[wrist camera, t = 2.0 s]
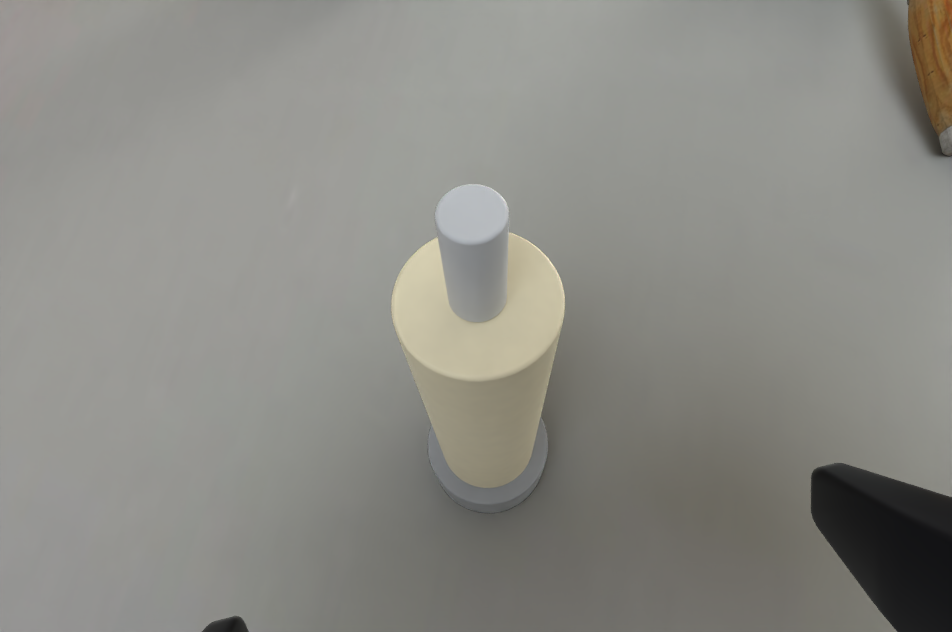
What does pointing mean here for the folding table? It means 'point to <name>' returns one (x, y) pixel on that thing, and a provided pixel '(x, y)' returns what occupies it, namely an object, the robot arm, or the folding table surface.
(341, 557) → the folding table surface
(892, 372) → the folding table surface
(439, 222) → the kitchen roll stand
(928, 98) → the magnifying glass
